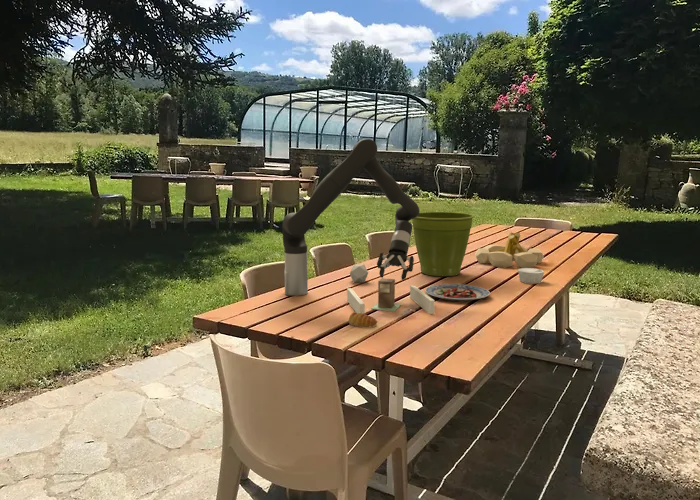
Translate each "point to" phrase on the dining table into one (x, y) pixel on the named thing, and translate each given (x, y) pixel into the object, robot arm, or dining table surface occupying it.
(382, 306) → the walnut block
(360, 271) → the die
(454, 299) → the ceramic plate
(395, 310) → the pad
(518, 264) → the campfire
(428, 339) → the dining table surface
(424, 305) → the arena
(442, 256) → the plant pot
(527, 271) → the ramekin
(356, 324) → the pastry
